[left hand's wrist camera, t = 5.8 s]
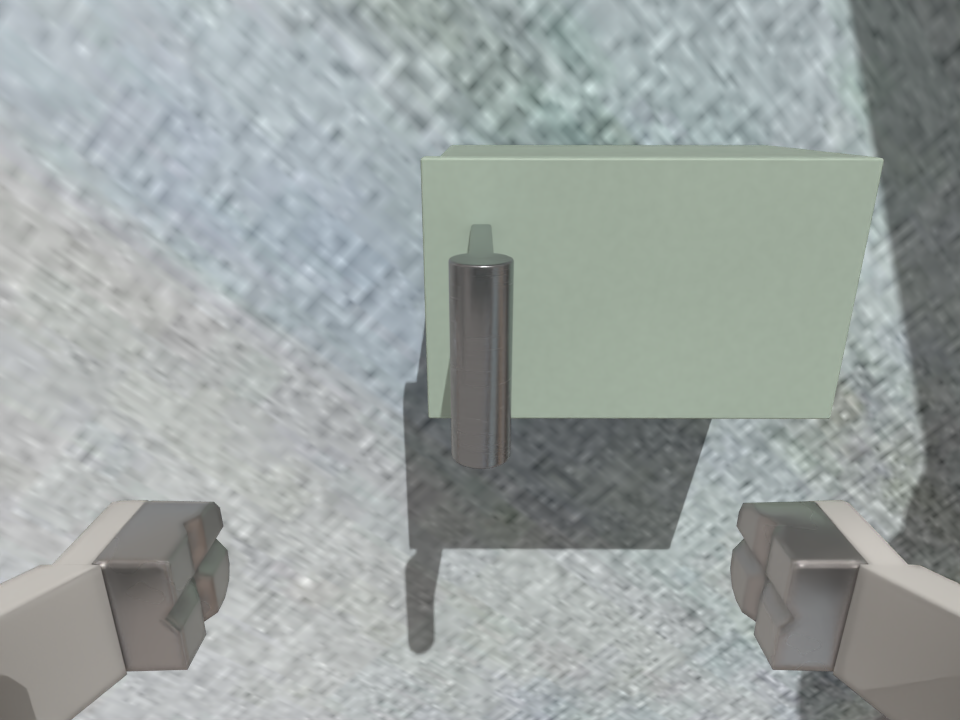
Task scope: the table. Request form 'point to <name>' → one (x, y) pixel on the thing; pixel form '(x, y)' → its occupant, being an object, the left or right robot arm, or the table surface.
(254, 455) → the table surface
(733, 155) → the chest
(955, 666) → the left robot arm
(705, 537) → the table surface
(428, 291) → the lid
